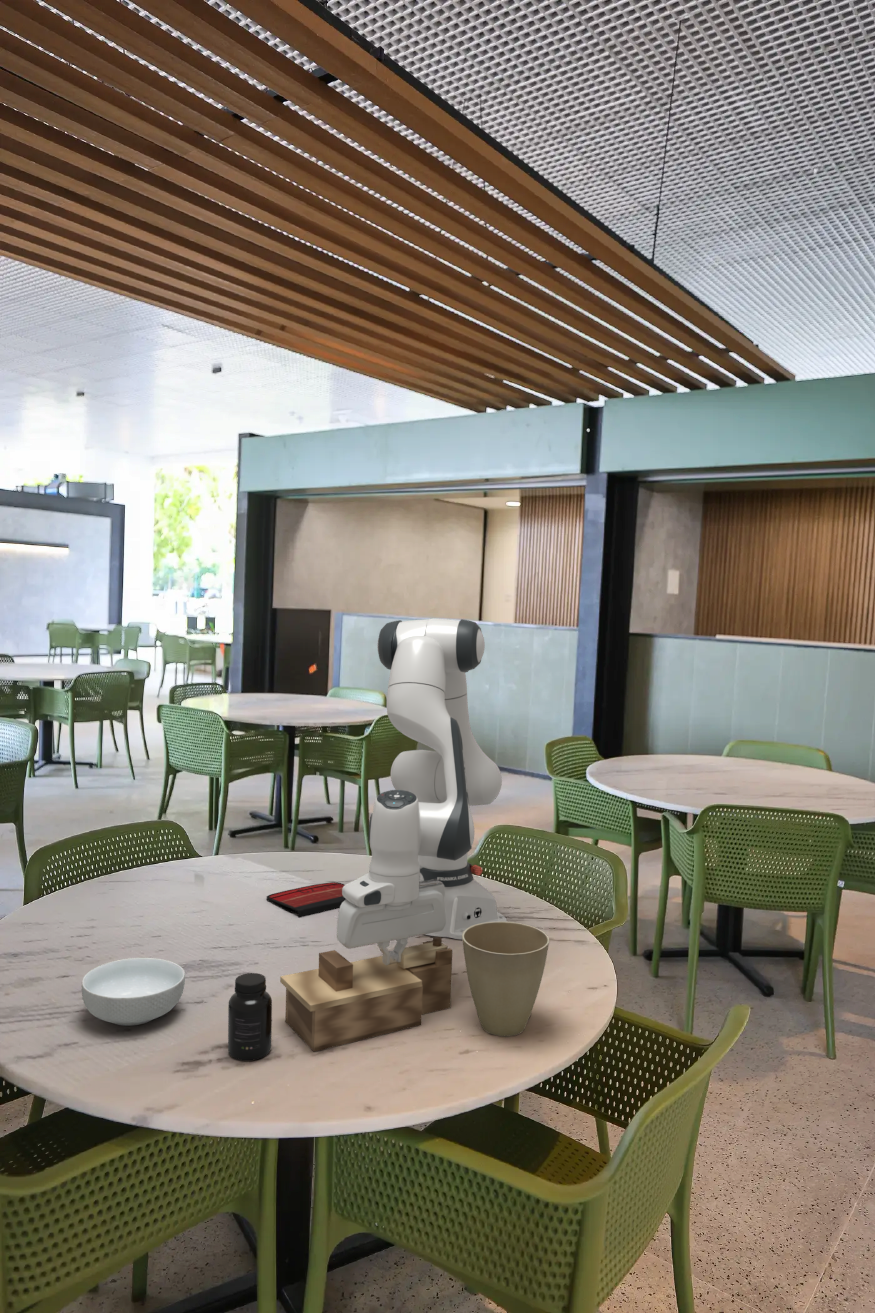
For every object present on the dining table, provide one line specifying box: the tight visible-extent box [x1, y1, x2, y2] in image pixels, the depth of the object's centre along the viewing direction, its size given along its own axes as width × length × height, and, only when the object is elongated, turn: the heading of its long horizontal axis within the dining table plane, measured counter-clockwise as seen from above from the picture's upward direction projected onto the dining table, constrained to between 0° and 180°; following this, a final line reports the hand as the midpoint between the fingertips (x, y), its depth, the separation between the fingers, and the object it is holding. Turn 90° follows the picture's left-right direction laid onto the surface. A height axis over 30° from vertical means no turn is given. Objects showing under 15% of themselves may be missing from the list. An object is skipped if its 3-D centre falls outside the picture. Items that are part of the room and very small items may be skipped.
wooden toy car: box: [396, 936, 448, 969], centre depth 165 cm, size 9×3×4 cm, turn 122°
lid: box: [279, 949, 422, 1012], centre depth 158 cm, size 21×13×6 cm, turn 122°
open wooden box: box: [284, 939, 453, 1053], centre depth 161 cm, size 28×12×11 cm, turn 122°
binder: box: [266, 881, 346, 919], centre depth 222 cm, size 16×2×21 cm
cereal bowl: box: [81, 957, 186, 1027], centre depth 159 cm, size 17×17×7 cm
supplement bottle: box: [227, 972, 273, 1062], centre depth 148 cm, size 7×7×12 cm
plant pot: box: [461, 921, 550, 1037], centre depth 159 cm, size 15×15×16 cm
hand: (391, 963), depth 162 cm, fingers closed
